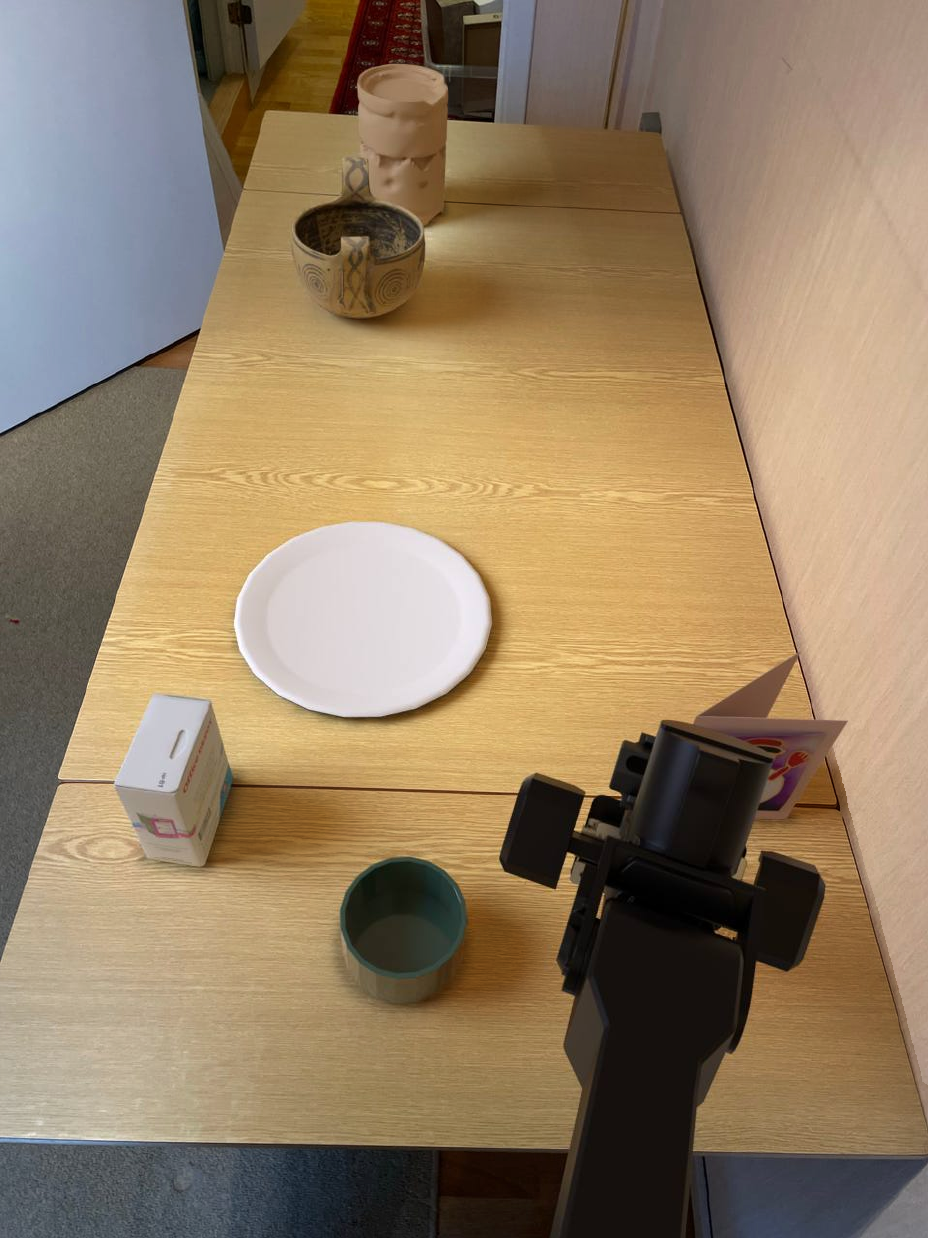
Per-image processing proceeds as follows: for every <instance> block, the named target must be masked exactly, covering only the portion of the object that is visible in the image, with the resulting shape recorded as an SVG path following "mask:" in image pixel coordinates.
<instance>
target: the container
mask: <svg viewBox="0 0 928 1238" xmlns="http://www.w3.org/2000/svg"><path fill="white" fill-rule="evenodd" d="M356 85H357V86H356V87H357V98H358V101H359V103H358V107H357V114H358V115H357V117H358V121H357V122H358V136H359V139H360V144H359V149H358V155H359V156H358V157H360V158H367V159H368V161H369V186H370V191H371V194H372V195H373V196H374V197H375V198H376V199H378V200H382V201H387V202H391V203H394V204H396V205H399V206H402V207H404V208H405V209H407V210H409V211H410V212H412V213H413V214H414V215H416V216H417V217H418V218H419V219H420V221H421V222H422V224H423V226H424V227H425V226H427V225H429V222H430V221H432V220H433V218H435V216H438V214H443V213H444V210H445V209H444V208H445V198H444V195H445V189H446V188H445V186H446V162H447V161H446V160H447V139H448V113H449V109H448V108H449V107H448V102H449V89H448V85H447V84H446V82H445V78H444V75H443V74H442V73H440V72H439V71H437V70H435V69H431V68H429V67H425V66H422V65H417V64H407V63H389V64H387V63H386V64H383V65H379V66H372V67H370V68H367V69H365V71H362V72H361V73H360V74H359V75H358V78H357V83H356Z"/></svg>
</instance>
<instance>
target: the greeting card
mask: <svg viewBox="0 0 928 1238" xmlns="http://www.w3.org/2000/svg"><path fill="white" fill-rule="evenodd" d="M801 652H802V650H800V651H798V652H797V653H795V654H793V655H791V656H790V657H789V658H787V659H785V660H783V661H782V662H780V663H779V664H777V665H776V666H774V667H773V668H771V669H769V670H768V671H766V672H764V673H763V674H761V675H760V676H758V677H756V678H755V679H753V680H752V681H750V682H748V683H747V684H745V685H743V686H742V687H740V688H739V689H737V690H735V691H734V692H732V693H731V694H729V695H727V696H726V697H724V698H723V699H721V700H720V701H718V702H717V703H715V704H713V705H711V706H710V707H709V708H707V709H705V710H704V711H702V712H700V713H699V714H697V715H696V716H695V718H694V721H693V722H692V724H694V725H698V726H701V727H705V728H708V729H712V730H715V731H718V732H721V733H724V734H727V735H729V736H732V737H735V738H738V739H740V740H743V741H745V742H748V743H750V744H752V745H755V746H757V747H759V748H761V749H763V750H765V751H766V752H768V753H770V754H771V755H772V756H773V757H774V761H773V764H772V767H771V770H770V773H769V776H768V779H767V782H766V785H765V788H764V791H763V794H762V797H761V800H760V803H759V806H758V809H757V812H756V815H755V818H754V819H762V820H763V819H765V820H769V819H770V820H787V818H788V817H789V816H790V814H791V812H792V811H793V809H794V808H795V806H796V804H797V803H798V801H799V800H800V798H801V796H802V795H803V793H804V792H805V790H806V788H807V787H808V785H809V784H810V782H811V781H812V779H813V777H814V776H815V774H816V773H817V771H818V769H819V768H820V766H821V765H822V763H823V761H824V760H825V758H826V756H827V755H828V753H829V752H830V750H831V749H832V748H833V745H835V742H836V741H837V739H838V738H839V736H840V734H841V733H842V732H843V730H844V728H845V726H847V723H848V722H849V720H843V719H842V720H841V719H812V718H807V719H806V718H776V717H775V718H773V717H770V718H769V717H768V716H769V714H770V712H771V710H772V708H773V707H774V704H775V703H776V701H777V699H778V697H779V695H780V693H781V691H782V689H783V688H784V686H785V683H786V681H787V679H788V678H789V675H790V673H791V672H792V670H793V668H794V667H795V664H796V663H797V660H798V658H799V657H800V654H801Z"/></svg>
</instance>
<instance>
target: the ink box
mask: <svg viewBox="0 0 928 1238" xmlns="http://www.w3.org/2000/svg"><path fill="white" fill-rule="evenodd" d="M231 770H232V769H231V766H230V763H229V760H228V756H227V752H226V749H225V745H224V741H223V739H222V735H221V732H220V727H219V724H218V721H217V718H216V714H215V711H214V707H213V703H212V701H211V700H210V699H209V698H202V697H195V696H189V695H188V696H186V695H179V694H178V695H177V694H165V693H153V694H152V696H151V698H150V699H149V702H148V705H147V707H146V709H145V711H144V714H143V716H142V718H141V721H140V723H139V725H138V728H137V730H136V733H135V735H134V737H133V739H132V741H131V744H130V746H129V749H128V751H127V753H126V755H125V757H124V760H123V762H122V764H121V767H120V769H119V771H118V774H117V776H116V777H115V780H114V783H113V788H114V790H115V792H116V794H117V796H118V798H119V801H120V803H121V805H122V808H123V809H124V811H125V813H126V815H127V817H128V820H129V822H130V824H131V826H132V828H133V830H134V832H135V835H136V836H137V838H138V841H139V843H140V845H141V847H142V849H143V851H144V853H145V856H146V858H147V859H149V860H153V861H158V862H159V861H160V862H164V863H172V864H178V865H184V866H190V867H191V866H193V867H201V868H202V867H204V866H205V864H207V859H208V857H209V854H210V851H211V848H212V844H213V841H214V839H215V836H216V832H217V829H218V827H219V823H220V821H221V818H222V814H223V811H224V808H225V805H226V802H227V800H228V797H229V794H230V791H231V787H232V785H233V781H234V776H233V773H232V771H231Z"/></svg>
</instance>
